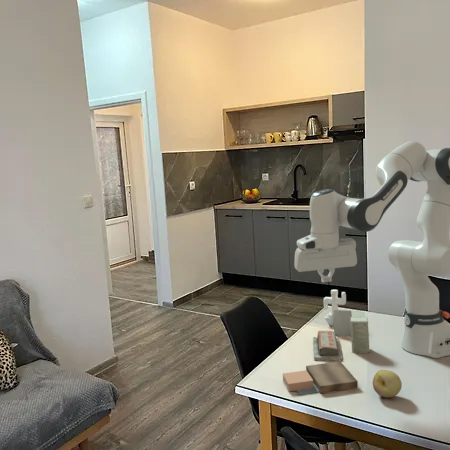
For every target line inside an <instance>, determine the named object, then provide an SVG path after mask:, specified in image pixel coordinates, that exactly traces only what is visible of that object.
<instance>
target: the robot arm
mask: <svg viewBox="0 0 450 450" xmlns="http://www.w3.org/2000/svg"><path fill="white" fill-rule="evenodd" d="M375 177H376V180H377V181H378V182H379V184H380V187H379V188H378V189H377V190H376V191H375V192H374V194H372V195H371V196H369V197H364V198H354V197H348V196H344V195H342V194H340V193H338V192H336V191H335V189H332V188H326V189H319V190H317V191H315V192H313V193H312V194H311V197H310V200H309V220H310V223H311V228H310V234H309V235H306V236H304V237H301V238H299V239H297V240H296V246H297V247H296V249H295V251H294V263H293V265H294V269H295V270H296V271H297V272H299V273H304V272H312V271H317V273H318V275H319V276H320V277H321V278H320V279H321V280H320V281H321V283H323V284H324V283H331V282H332V281H333V279H332V277H333V275H334V273H335V272H336V271H335V270H336V269H340V268H348V267H356V265H357V264H358V257H357V251H356V248H357V242H356V240H355V239H353V238H352V237H347V238H340V235H339V231H340V230H339V227H344V228H347V229H354V230H356V231H359V232H364V233H366V232H371V231H373V230H374V229H375V228H376V227H377V226H378V225H379V224H380V221H381V220H382V218H383V216H384V215H385V213H386V212H387V210H389V208H390V207H391V206H392V204H394V202H395V201H396V200H397V199H398V197H400V195H402V194H403V192H404V191H405V189H406V187H407V185H408V182H409V180H410V181H413V182H417V183H419V182H426V183H427V184H426V185H427V189H426V190H427V191H425V194H424V197H423V199H422V203H421V205H420V208H419V211H418V215H417V218H416V226H417V227H418V229H419V230H420V231H422V232H423V240H422V241H420V240H419V241H418V240H411V239H401V240H395V241H394V242H392V243H391V245H390V247H389V248H388V252H387V254H388V255H387V257H388V260H389V262H390V264H391V265H392V266H394V268H395V269H396V271H397V272H398V274H399V277H400V280H401V281H402V284H403V287H404V288H403V289H404V294H405V295H404V296H405V298H404V299H405V301H404V302H405V308H404V314H403V315H404V331H403V332H404V333H403V338H402V341H401V344H400V345H401V348H402V349H403V350H405V351H406V352H408V353H411V354H415V355H418V356H419V355H420V356H425V357H430V358H434V359H439V358H444V357H449V356H450V323H449V322H448V321H447V320H446V319H449V318H450V313H449V312H447V311H443V310H441V309H440V291H439V289H438V287H437V286H436V285H435V284H434V283H433V282H432V281H431V278H429V276H433V277H441V278H442V277H450V147H445V148H434V149H427V150H426V148H425V146H424V145H423V144H422V143H420V142H419V141H414V140H408V141H405V142H404V143H403V144H401V145H398V146H397V147H396V148H394V149H393V150H392V151H390V152H389V153H388V154H386V155H385V156H384V157H383V158H381V160H379V162H378V164H377V165H376V167H375ZM325 270H328V271H329V272H328V274H327V275H324V274H323V273H324V272H325ZM444 318H445V319H444Z"/></svg>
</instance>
